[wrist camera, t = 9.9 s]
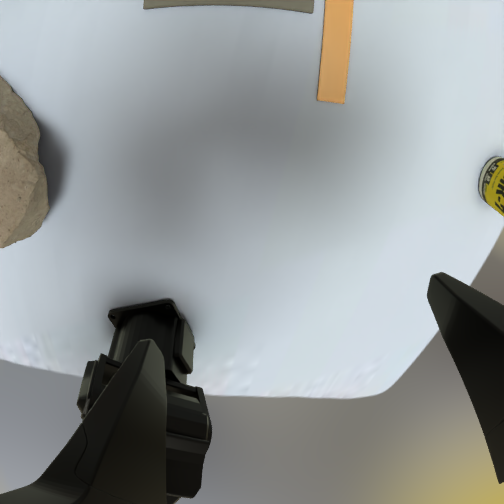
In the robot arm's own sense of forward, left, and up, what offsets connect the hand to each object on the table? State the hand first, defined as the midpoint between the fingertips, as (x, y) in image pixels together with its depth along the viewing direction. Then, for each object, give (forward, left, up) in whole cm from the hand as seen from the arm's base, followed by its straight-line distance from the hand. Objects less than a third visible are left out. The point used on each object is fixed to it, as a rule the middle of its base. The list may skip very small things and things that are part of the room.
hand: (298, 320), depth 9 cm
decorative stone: (-18, +8, -13) cm, 24 cm away
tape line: (+8, +12, -13) cm, 20 cm away
